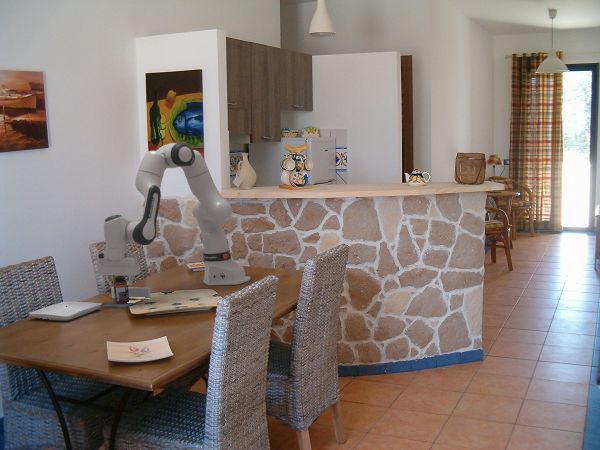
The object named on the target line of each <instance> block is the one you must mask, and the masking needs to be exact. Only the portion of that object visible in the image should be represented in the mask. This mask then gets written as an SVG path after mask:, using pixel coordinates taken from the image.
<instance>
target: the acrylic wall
mask: <svg viewBox="0 0 600 450" xmlns="http://www.w3.org/2000/svg"><path fill="white" fill-rule="evenodd" d="M110 291H111V298H112V299H114V300H115V294H114V287H111V286H110ZM128 291H129V297H145V298H151V299H152V297H151V296H152V295H151V287H138V286H137V287H131V286H128Z"/></svg>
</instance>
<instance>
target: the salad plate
mask: <svg viewBox="0 0 600 450" xmlns="http://www.w3.org/2000/svg"><path fill="white" fill-rule="evenodd" d="M102 304H103V303H101V302H100V303H99V302H86V301H84V302H83V301H62V302H59V303H58V302H57V303H55V304H52V305H49V306H45V307H43V308H40V309H36V310H34V311H31V312H28V315H29V316H31V317H32V318H36V319H40V318H42V319H41V320H44V319H49V320H48V321H60V322H61V321H62V322H63V321H71V320H75V319H77V318H79V317H82V316H85V315H88V314H91V313H92V312H94V311H96V310H98V309H99V308H100V307H102ZM66 306H67V307H66Z"/></svg>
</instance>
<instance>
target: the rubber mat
mask: <svg viewBox="0 0 600 450" xmlns="http://www.w3.org/2000/svg"><path fill="white" fill-rule="evenodd" d="M132 304H133V303H123V304H117V303H116V302H115V300H113V301H110V302H107V303H105V304H103V305H101V307H102V308H122V309H123V308H124V309H125V308H128V307H130V306H129V305H131V306H133V305H134V304H133V305H132Z"/></svg>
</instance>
